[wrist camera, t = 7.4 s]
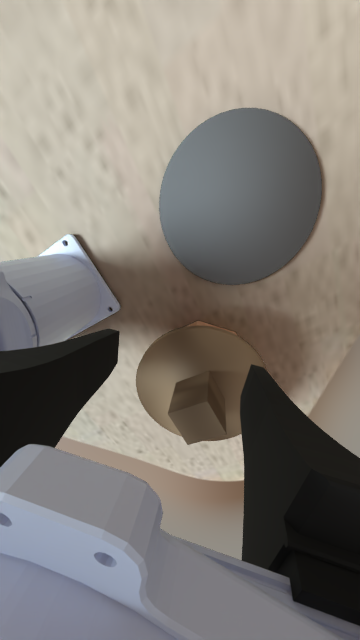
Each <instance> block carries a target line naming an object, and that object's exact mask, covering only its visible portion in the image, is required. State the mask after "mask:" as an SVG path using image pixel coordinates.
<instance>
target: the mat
mask: <svg viewBox="0 0 360 640" xmlns="http://www.w3.org/2000/svg"><path fill="white" fill-rule="evenodd" d="M321 194H322V180H321V172H320V167H319V163H318V160H317V156H316V154H315V152H314V150H313V147H312V145H311V144H310V142H309V141H308V139H307V137H306V136H305V135H304V134H303V133H302V131H301V130H300V129H299V128H298V127H297V126H296V125H294V124H293V123H292V122H291V121H290V120H288V119H286V118H285V117H283V116H281V115H279V114H277V113H274V112H271V111H268V110H264V109H258V108H240V109H234V110H229V111H226V112H223V113H220V114H218V115H216V116H214V117H212V118H210V119H208V120H206V121H205V122H203V123H202V124H200V125H199V126H198V127H197V128H195V129H194V130H193V131H192V132H191V133H190V134H189V135H188V136H187V137H186V138H185V139H184V140H183V142H182V143H181V144H180V145H179V147H178V148H177V150H176V151H175V153H174V154H173V156H172V158H171V160H170V162H169V164H168V166H167V169H166V172H165V174H164V177H163V181H162V185H161V191H160V201H159V211H160V220H161V225H162V230H163V233H164V236H165V239H166V241H167V243H168V245H169V247H170V249H171V250H172V252H173V254H174V255H175V256H176V258H177V259H178V260H179V261H180V262H181V263H182V264H183V265H184V266H185V267H186V268H187V269H188V270H189V271H191V272H192V273H194V274H195V275H197V276H199V277H201V278H203V279H205V280H208V281H211V282H214V283H219V284H227V285H237V284H245V283H250V282H253V281H257V280H260V279H262V278H264V277H267V276H269V275H270V274H272V273H274V272H276V271H277V270H279V269H280V268H281V267H283V266H284V265H285V264H286V263H287V262H289V261H290V260H291V259H292V258H293V257H294V256H295V255H296V253H297V252H298V251H299V250H300V249H301V247H302V246H303V244H304V243H305V241H306V240H307V238H308V236H309V235H310V233H311V231H312V229H313V226H314V224H315V221H316V219H317V215H318V211H319V208H320V202H321Z"/></svg>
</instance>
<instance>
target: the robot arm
mask: <svg viewBox="0 0 360 640" xmlns="http://www.w3.org/2000/svg"><path fill="white" fill-rule="evenodd" d="M65 241H67V242H68V245H66V244H65ZM109 307H111V308H112V309H113V311H111V310H110V309H109ZM118 310H120V304H119V302H118V301H117V299H116V298H115V296H114V295H113V293H112V292H111V290H110V289H109V287H108V286H107V284H106V283H105V281H104V280H103V278H102V277H101V275H100V273H99V272H98V270H97V269H96V267H95V266H94V264H93V263H92V261H91V260H90V258H89V257H88V255H87V254H86V252H85V251H84V249H83V248H82V246H81V245H80V243H79V242H78V240H77V239H76V237H75V236H74V235H72V234H67V235H65V236H64V237H63V238H61V239H60V240H59V241H57V242H56V243H55V244H53V245H52V246H51V247H49V248H48V249H47V250H45V251H44V252H43V253H41V254H40V255H39V256H37V257H31V258H24V259H17V260H10V261H3V262H0V640H360V458H359V457H357V456H356V455H354V454H353V453H351V452H350V451H349V450H347V449H346V448H345V447H343V446H342V445H340V444H339V443H338V442H337V441H335V440H334V439H333V438H331V437H330V436H329V435H328V434H327V433H325V432H324V431H323V430H322V429H320V428H319V427H318V426H317V425H316V424H315V423H314V422H312V421H311V420H310V419H309V418H308V417H307V416H306V415H305V414H304V413H303V412H302V411H301V410H300V409H299V408H298V407H297V406H296V405H295V404H294V403H293V402H292V401H291V400H290V399H289V397H288V396H287V395H286V394H285V393H284V392H283V390H282V389H281V388H280V387H279V386H278V384H277V383H276V382H275V381H274V379H273V378H272V377H271V376H270V374H269V373H268V372H267V371H266V370H265V369H264V367H260V366H256V365H252V364H251V366H250V369H249V372H248V375H247V378H246V381H245V384H244V387H243V390H242V393H241V397H240V421H241V432H242V442H243V452H244V520H243V547H242V560H239V559H236V558H233V557H231V556H228V555H225V554H222V553H219V552H216V551H214V550H211V549H208V548H206V547H203V546H200V545H198V544H195V543H192V542H189V541H186V540H184V539H181V538H178V537H175V536H172V535H170V534H169V533H167V532H165V531H164V530H162V529H160V524H161V519H162V514H163V512H162V506H161V501H160V498H159V496H158V495H157V493H156V492H155V491H153V489H152V488H151V487H150V486H149V484H148V483H147V482H145V481H143V480H142V479H140V478H138V477H136V476H134V475H132V474H130V473H128V472H125V471H122V470H118V469H116V468H113V467H109V466H107V465H104V464H101V463H98V462H95V461H92V460H89V459H86V458H83V457H80V456H77V455H74V454H71V453H68V452H65V451H62V450H59V449H56V448H55V446H56V445H57V443H58V442H59V440H60V438H61V437H62V436H63V434H64V433H65V431H66V430H67V428H68V427H69V425H70V424H71V422H72V421H73V419H74V418H75V417H76V415H77V414H78V412H79V411H80V410H81V409H82V407H83V406H84V405H85V404H86V403H87V402H88V400H89V399H90V398H91V397H92V396H93V395H94V393H95V392H96V391H97V390H98V389H99V388H100V386H101V385H102V384H103V383H104V382H105V380H106V379H107V378H108V377H109V375H110V374H111V372H112V371H113V369H114V367H115V366H116V364H117V361H118V346H119V331H116V330H112V329H106V330H101V331H98V332H95V333H91V334H88V335H85V336H81V337H78V338H74V339H70V340H67V339H69V338H71V337H72V336H74V335H76V334H78V333H80V332H81V331H83V330H85V329H87V328H89V327H90V326H92V325H94V324H96V323H98V322H99V321H101V320H103V319H105V318H107V317H108V316H110V315H112V314H114V313H115V312H117V311H118ZM65 340H67V341H65Z"/></svg>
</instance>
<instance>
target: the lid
mask: <svg viewBox="0 0 360 640" xmlns="http://www.w3.org/2000/svg"><path fill="white" fill-rule="evenodd" d="M251 364H252V365H256V366H260V367H264V369H265V370H266V367H265V365H264V362H263V361H262V359H261V357H260V355H259V354H258V353H257V352H256V350H255V349H254V348H253V347H252V346H251V345H250V344H249V343H248V342H246V341H245V340H243V339H242V338H241V337H239V336H237V335H235V334H233V333H231V332H229V331H226V330H224V329H220V328H216V327H211V326H187V327H182V328H178V329H175V330H173V331H170V332H168V333H166V334H164V335H162V336H161V337H160V338H158V339H157V340H156V341H155V342H154V343H153V344H152V345H151V346H150V347H149V348H148V349H147V351H146V352H145V354H144V356H143V358H142V359H141V361H140V363H139V366H138V369H137V374H136V387H137V392H138V396H139V399H140V401H141V403H142V405H143V407H144V408H145V410H146V411H147V413H148V414H149V415H150V416H151V417H152V418H153V419H154V420H155V421H156V422H157V423H158V424H160V425H161V426H162V427H164V428H165V429H167V430H169V431H170V432H172V433H174V434H177V435H179V436H182V437H183V438H184V440H185V441H186V443H187V444H188V445H189V444H193V443H197V442H200V441H217V440H224V439H229V438H232V437H235V436H237V435H240V434H242V432H241V421H240V397H241V393H242V390H243V387H244V384H245V381H246V378H247V375H248V372H249V369H250V366H251ZM266 371H267V370H266Z"/></svg>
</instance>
